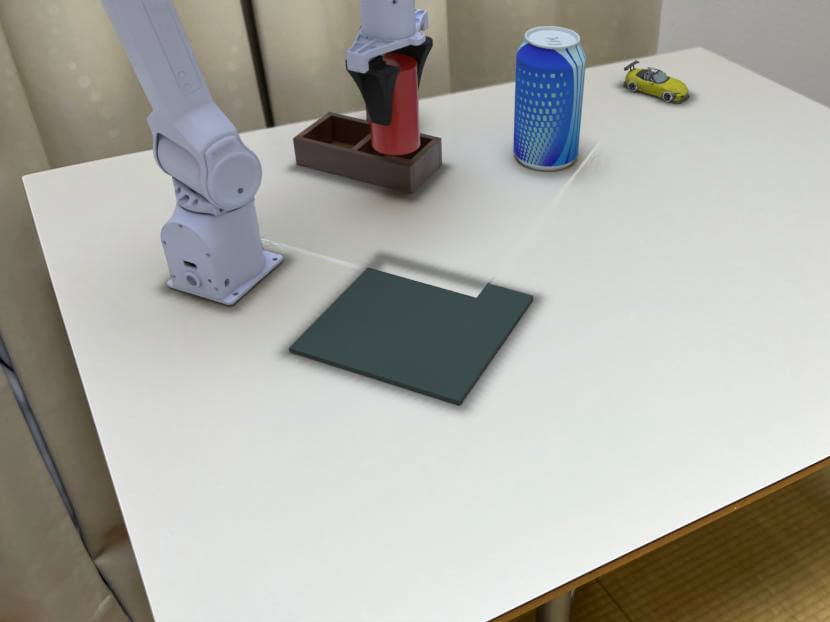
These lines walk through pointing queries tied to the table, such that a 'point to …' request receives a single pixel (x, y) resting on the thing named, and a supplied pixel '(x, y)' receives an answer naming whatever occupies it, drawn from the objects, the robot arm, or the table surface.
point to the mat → (413, 332)
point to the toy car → (655, 83)
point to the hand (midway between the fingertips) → (393, 112)
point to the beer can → (548, 98)
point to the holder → (364, 154)
